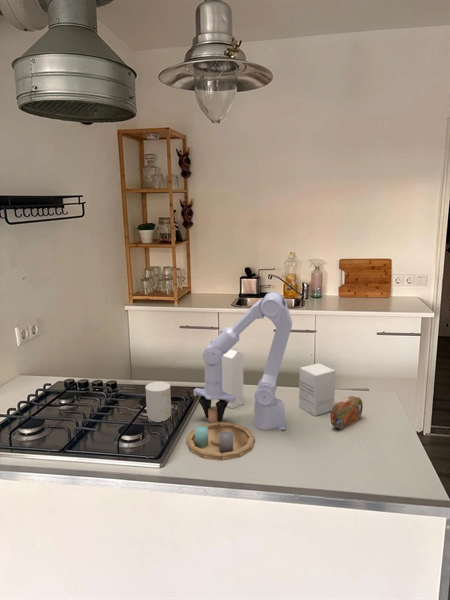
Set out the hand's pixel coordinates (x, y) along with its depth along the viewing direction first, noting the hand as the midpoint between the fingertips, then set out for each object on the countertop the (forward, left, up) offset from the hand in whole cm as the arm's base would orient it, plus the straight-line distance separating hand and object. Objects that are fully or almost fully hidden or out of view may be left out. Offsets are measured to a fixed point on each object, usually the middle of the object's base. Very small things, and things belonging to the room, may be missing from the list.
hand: (214, 418), depth 155 cm
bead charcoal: (+2, +20, 0) cm, 20 cm away
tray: (+2, +14, -1) cm, 14 cm away
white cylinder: (+17, -8, -2) cm, 19 cm away
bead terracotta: (0, 0, -1) cm, 1 cm away
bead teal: (+8, +14, 0) cm, 16 cm away
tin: (-41, +14, -2) cm, 43 cm away
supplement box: (-37, +1, -2) cm, 37 cm away
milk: (-10, -12, -2) cm, 16 cm away
